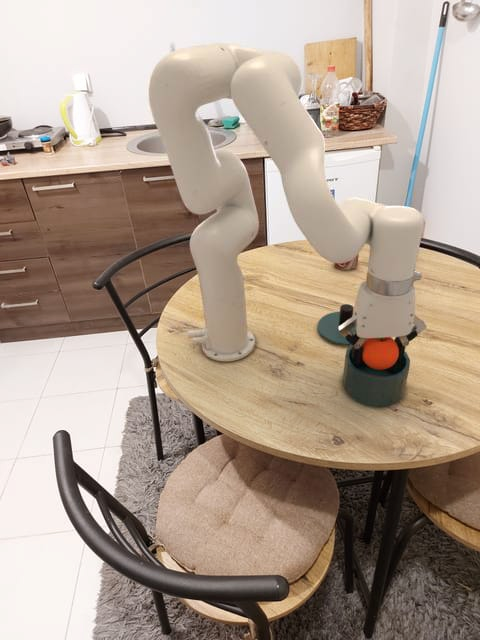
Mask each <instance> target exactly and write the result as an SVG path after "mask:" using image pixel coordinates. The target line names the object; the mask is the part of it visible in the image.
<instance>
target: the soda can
mask: <svg viewBox="0 0 480 640" xmlns="http://www.w3.org/2000/svg"><path fill="white" fill-rule="evenodd" d="M359 254H360V253H359ZM359 254H358V255H357V256H356V257H355V258H354V259H352V260H351V261H348V262H346V263H333V264H334V266H335V267H336V268H338V269H340V270H342V271H350V270H352V269H354V268H356V267H357V266H358V262H359V256H360V255H359Z"/></svg>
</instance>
